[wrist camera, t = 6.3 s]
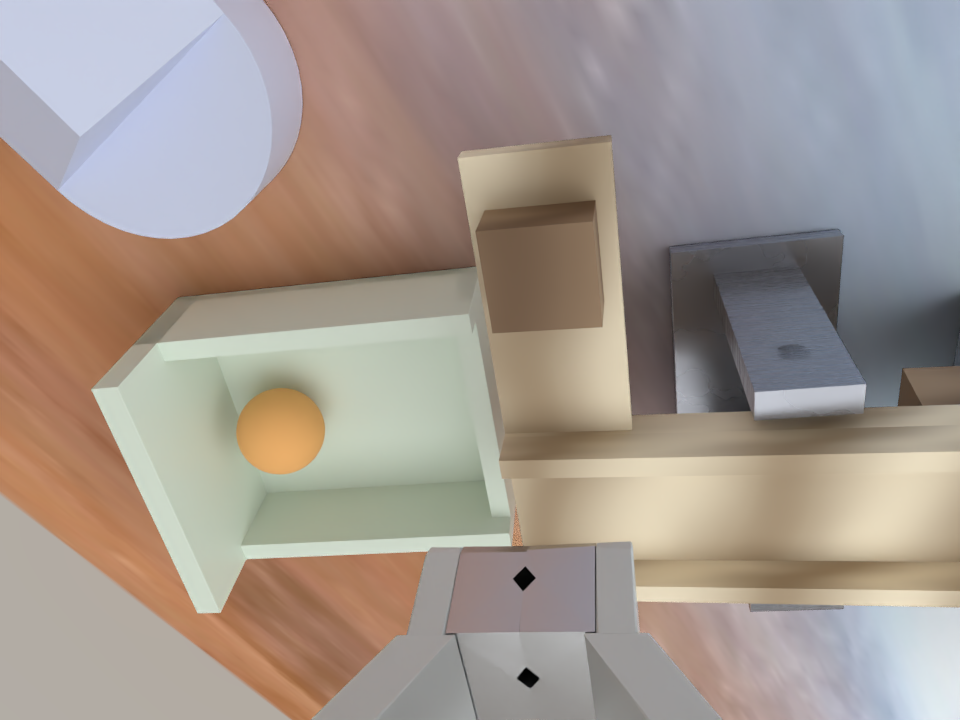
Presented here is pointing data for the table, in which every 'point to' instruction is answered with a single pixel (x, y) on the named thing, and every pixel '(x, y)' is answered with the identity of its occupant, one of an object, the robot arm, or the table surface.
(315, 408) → the ball
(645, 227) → the table surface
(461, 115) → the table surface
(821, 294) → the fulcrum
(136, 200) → the wedge on round base
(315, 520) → the tray
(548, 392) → the lever
